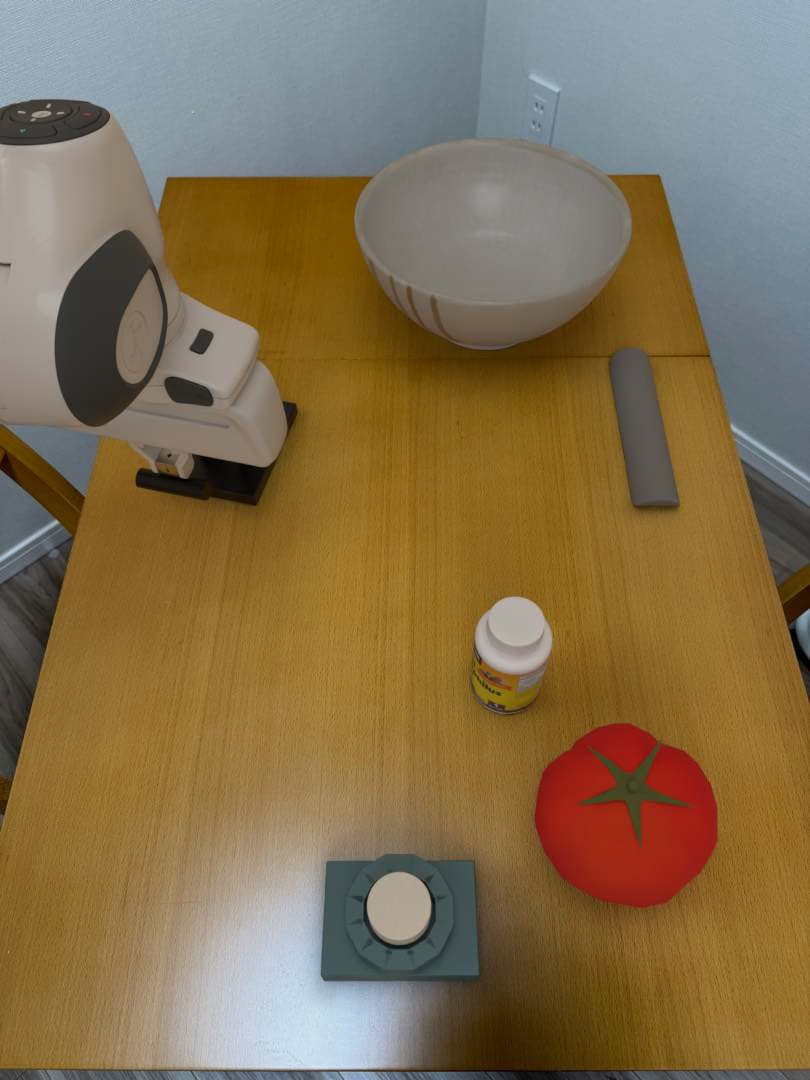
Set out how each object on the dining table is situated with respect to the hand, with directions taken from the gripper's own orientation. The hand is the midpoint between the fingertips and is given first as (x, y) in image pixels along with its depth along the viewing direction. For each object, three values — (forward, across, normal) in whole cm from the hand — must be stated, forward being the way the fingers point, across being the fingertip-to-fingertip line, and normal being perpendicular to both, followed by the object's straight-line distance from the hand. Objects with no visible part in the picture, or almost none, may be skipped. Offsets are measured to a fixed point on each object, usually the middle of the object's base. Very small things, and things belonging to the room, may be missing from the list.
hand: (174, 469), depth 70 cm
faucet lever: (0, 0, +5) cm, 5 cm away
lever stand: (+8, 0, +10) cm, 13 cm away
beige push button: (+4, +26, -27) cm, 38 cm away
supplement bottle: (+8, +30, -8) cm, 32 cm away
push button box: (+8, +26, -27) cm, 39 cm away
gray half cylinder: (+8, +37, +21) cm, 44 cm away
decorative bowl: (+8, +19, +34) cm, 40 cm away
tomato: (+8, +39, -18) cm, 44 cm away
